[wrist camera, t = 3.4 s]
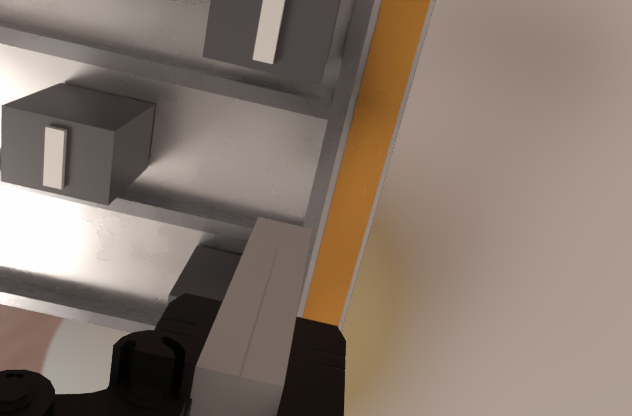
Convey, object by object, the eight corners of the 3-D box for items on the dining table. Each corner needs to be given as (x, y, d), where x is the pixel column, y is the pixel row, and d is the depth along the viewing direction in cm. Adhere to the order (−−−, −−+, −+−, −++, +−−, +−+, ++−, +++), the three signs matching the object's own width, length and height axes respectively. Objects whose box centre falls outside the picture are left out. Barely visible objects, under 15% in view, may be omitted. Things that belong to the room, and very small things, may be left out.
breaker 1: (197, 245, 24) (167, 297, 20) (281, 264, 24) (267, 320, 20) (188, 297, 25) (158, 357, 21) (269, 316, 25) (254, 378, 21)
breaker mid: (61, 82, 22) (-3, 106, 18) (154, 104, 22) (112, 132, 18) (57, 147, 23) (-3, 183, 19) (147, 167, 23) (105, 208, 19)
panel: (-169, -204, 20) (-237, -227, 18) (445, -55, 21) (456, -58, 18) (-129, 248, 27) (-174, 273, 25) (331, 350, 28) (329, 384, 25)
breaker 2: (241, -35, 20) (214, -36, 16) (343, -10, 20) (340, -6, 16) (229, 41, 21) (200, 58, 17) (326, 64, 21) (320, 86, 17)
